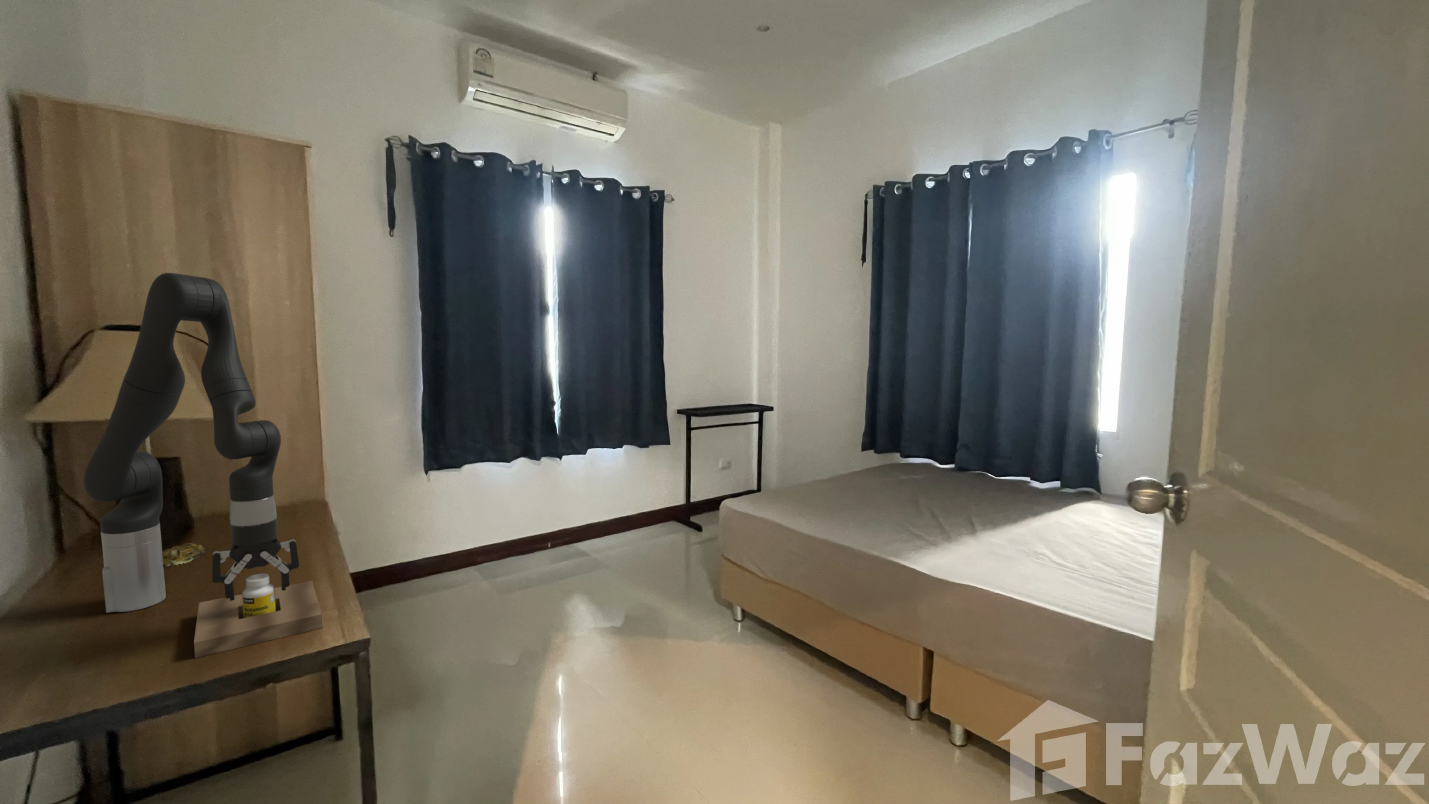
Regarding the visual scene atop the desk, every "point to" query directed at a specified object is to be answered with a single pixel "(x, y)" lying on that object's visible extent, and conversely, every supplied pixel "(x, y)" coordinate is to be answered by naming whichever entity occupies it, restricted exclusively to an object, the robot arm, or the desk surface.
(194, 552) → the noodle cake
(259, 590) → the supplement bottle
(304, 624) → the socket board
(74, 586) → the desk surface
